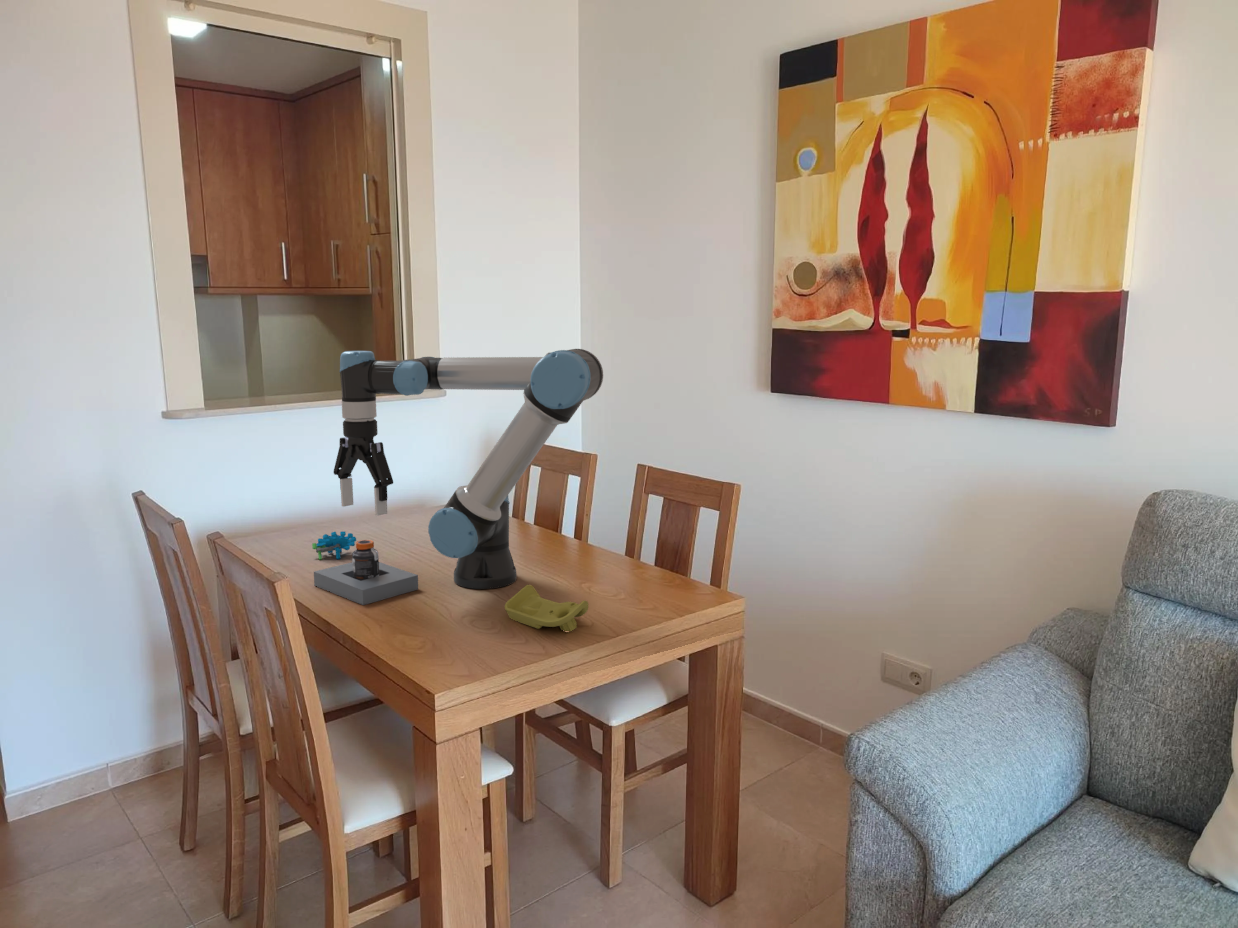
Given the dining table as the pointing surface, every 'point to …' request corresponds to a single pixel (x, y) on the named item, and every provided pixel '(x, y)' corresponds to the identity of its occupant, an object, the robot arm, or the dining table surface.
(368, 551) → the pill bottle
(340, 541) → the gear
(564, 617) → the plastic component
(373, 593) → the socket block
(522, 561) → the dining table surface
